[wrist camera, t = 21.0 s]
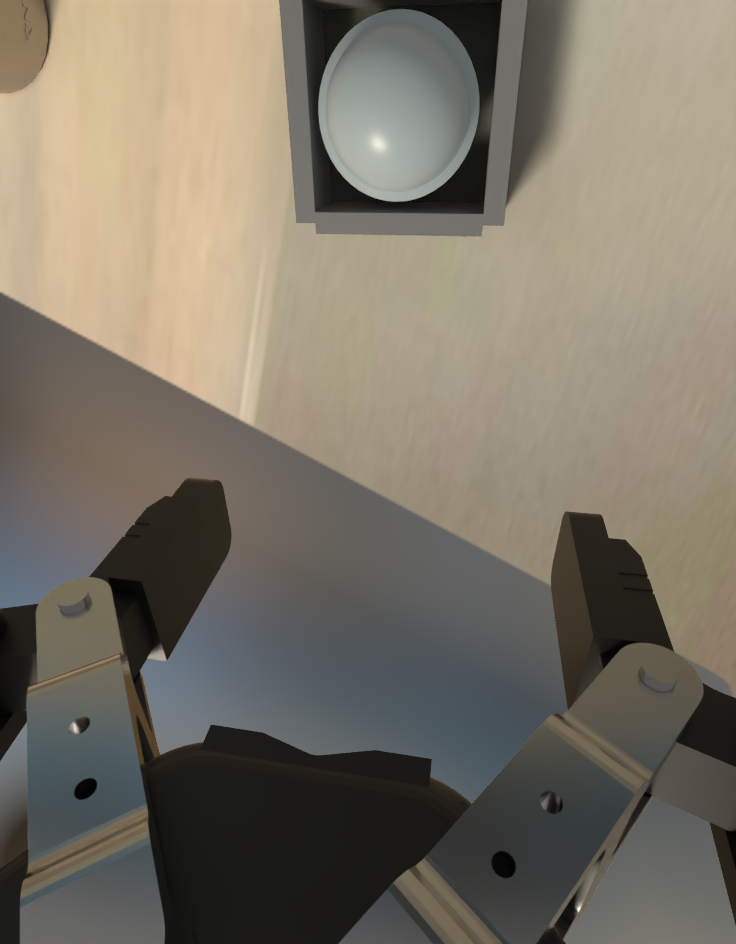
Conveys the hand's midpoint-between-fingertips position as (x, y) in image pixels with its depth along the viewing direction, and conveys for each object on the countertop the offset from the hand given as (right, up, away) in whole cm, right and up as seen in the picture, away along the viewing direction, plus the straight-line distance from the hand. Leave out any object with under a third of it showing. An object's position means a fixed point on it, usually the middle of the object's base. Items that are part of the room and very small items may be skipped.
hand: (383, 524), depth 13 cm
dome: (+2, +22, +20) cm, 30 cm away
